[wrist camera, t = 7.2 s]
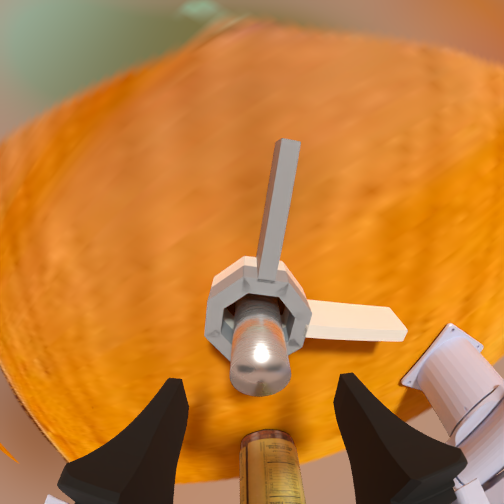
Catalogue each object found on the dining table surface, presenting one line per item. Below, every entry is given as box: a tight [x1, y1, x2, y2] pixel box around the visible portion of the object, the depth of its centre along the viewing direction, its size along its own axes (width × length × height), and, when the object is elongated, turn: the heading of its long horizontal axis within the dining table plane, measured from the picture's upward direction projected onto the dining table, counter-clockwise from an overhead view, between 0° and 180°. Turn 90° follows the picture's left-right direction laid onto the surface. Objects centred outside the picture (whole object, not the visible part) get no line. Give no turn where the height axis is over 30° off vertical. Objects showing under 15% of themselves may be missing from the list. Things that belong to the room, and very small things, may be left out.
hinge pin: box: [230, 293, 291, 396], centre depth 17 cm, size 3×3×8 cm
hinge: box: [204, 138, 408, 361], centre depth 18 cm, size 14×14×4 cm
